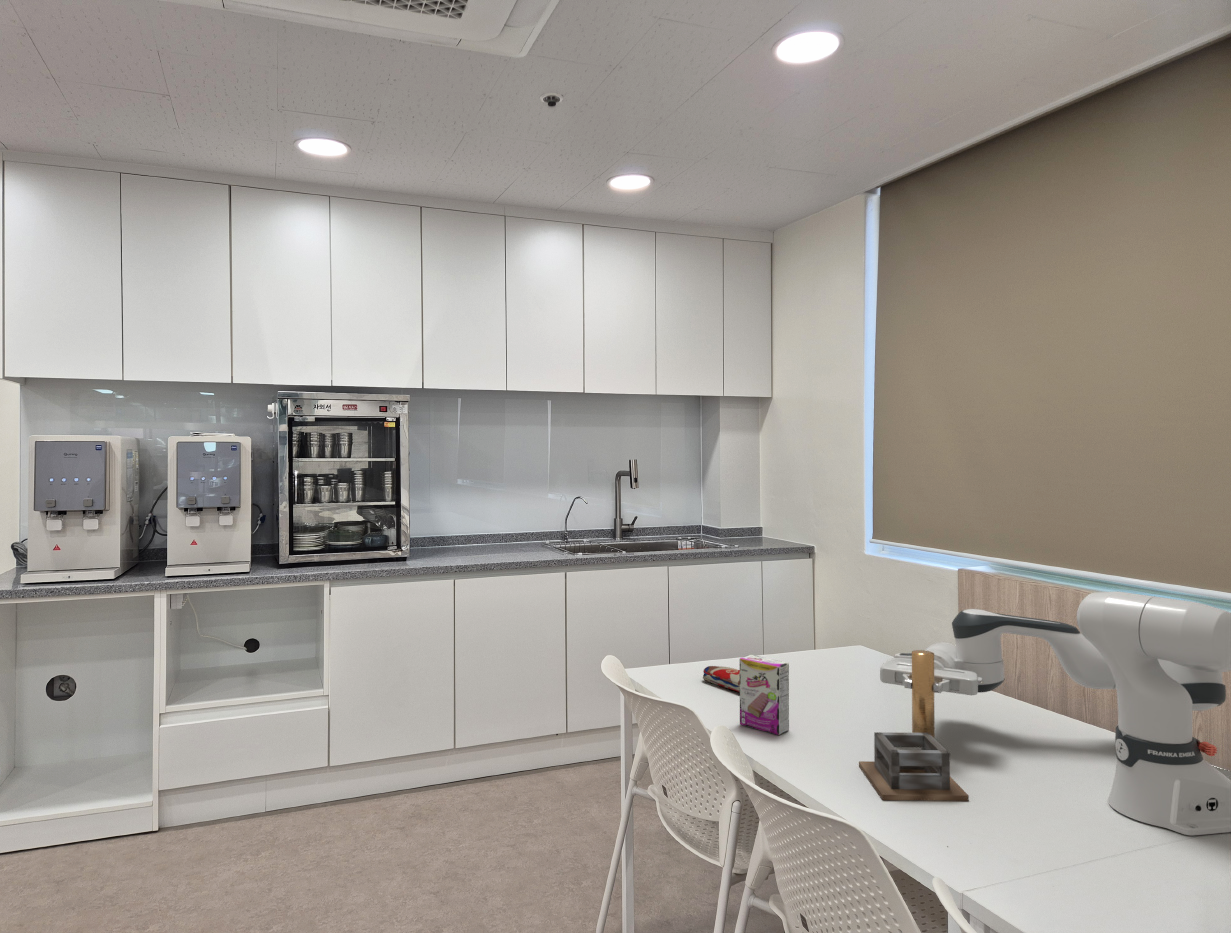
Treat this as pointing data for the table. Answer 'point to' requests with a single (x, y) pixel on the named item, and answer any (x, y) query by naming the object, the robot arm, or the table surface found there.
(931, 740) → the collar stand
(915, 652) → the copper tube
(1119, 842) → the table surface
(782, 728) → the candy bar box
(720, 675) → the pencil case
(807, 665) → the table surface
